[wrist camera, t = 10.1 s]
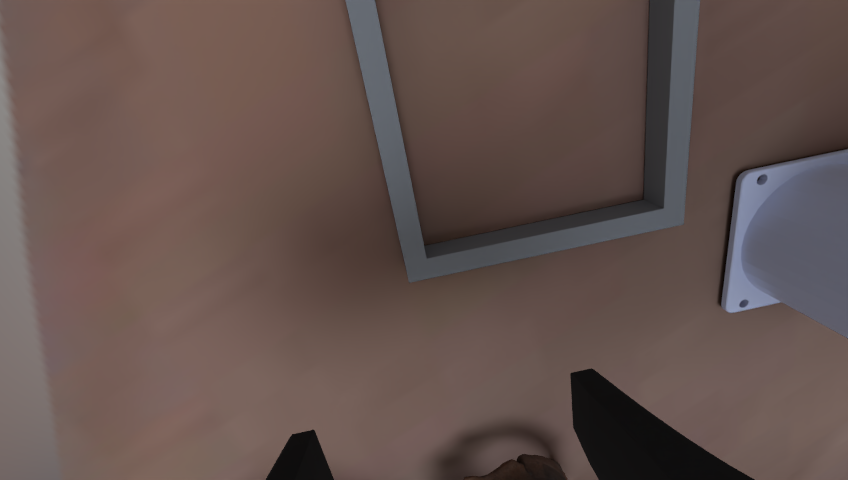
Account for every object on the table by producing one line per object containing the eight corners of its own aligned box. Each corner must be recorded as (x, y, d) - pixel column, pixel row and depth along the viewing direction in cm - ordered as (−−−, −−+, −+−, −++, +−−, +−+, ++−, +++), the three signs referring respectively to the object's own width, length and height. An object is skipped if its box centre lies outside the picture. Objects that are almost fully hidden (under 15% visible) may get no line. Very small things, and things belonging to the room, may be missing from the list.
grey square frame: (678, -109, 15) (709, -129, 13) (662, 214, 20) (683, 224, 18) (336, -44, 15) (332, -57, 13) (407, 268, 19) (409, 282, 18)
